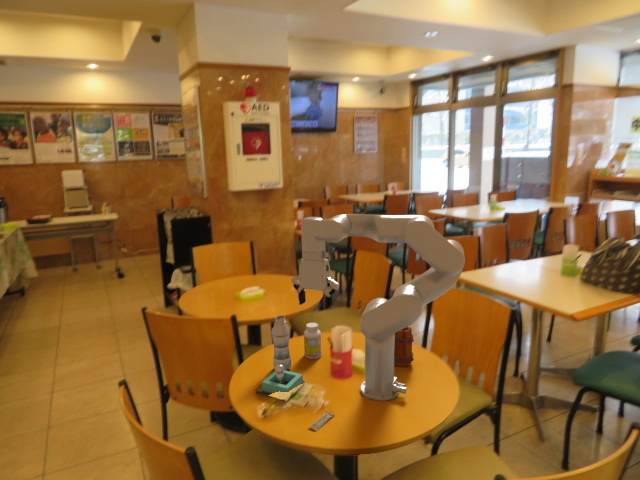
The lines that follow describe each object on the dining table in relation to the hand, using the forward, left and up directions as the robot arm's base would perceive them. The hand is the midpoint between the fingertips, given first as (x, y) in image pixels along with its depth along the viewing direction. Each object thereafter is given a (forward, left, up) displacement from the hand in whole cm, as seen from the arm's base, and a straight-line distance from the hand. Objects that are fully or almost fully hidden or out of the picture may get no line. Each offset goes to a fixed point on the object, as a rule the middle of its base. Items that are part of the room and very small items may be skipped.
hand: (315, 305), depth 145 cm
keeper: (+10, +8, -28) cm, 31 cm away
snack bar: (-11, +19, -29) cm, 36 cm away
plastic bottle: (+17, -4, -28) cm, 33 cm away
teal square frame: (+9, +8, -27) cm, 30 cm away
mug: (-20, -26, -28) cm, 43 cm away
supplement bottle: (+11, -18, -28) cm, 35 cm away
